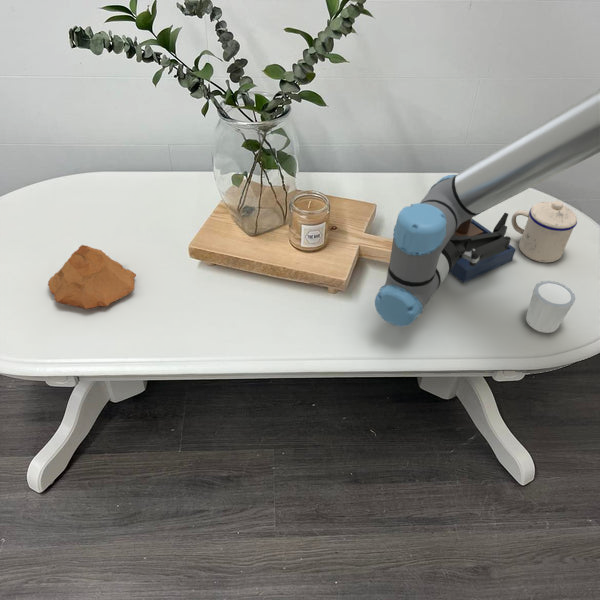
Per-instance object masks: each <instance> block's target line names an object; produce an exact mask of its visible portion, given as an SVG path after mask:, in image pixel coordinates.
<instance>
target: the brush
mask: <svg viewBox="0 0 600 600" xmlns="http://www.w3.org/2000/svg"><path fill="white" fill-rule="evenodd" d="M472 219H473V217H472V218H471V219H469V220H467V221H465V222H463V223H462V224H460V225H459V227H458V228H457V230H456V231H455V233H454V234H456V235H459V236H463V235H468V236H475V235H480V234H483V231H482V230H480V229H479V228H478V227H476V226H475V225H473V224H472V223H471V220H472ZM462 243H463V242H462Z"/></svg>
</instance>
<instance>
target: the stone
mask: <svg viewBox="0 0 600 600" xmlns="http://www.w3.org/2000/svg"><path fill="white" fill-rule="evenodd" d="M136 277H137V274H136V273H135V272H134V271H132V270H130V269H127V268H124V266H123V265H122V264H121V263H120V262H118V261H117V260H114V259H112V258H110V256H109V255H107V254H106V253H105V252H104V251H103V250H101V249H98V248H94V247H92V246H88V245H84V244H81V245H80V246H79V247H78V249H76V250H75V251H74V252H72V254H71V255H70V257H69V258H68V259H67V261H65V262H64V264H63V265H62V267H61V268H60V269H59V270H57V272H56V273H54V275H53V276H51V277H50V278H49V280H48V282H47V286H48V288H49V289H48V290H49V291H50V293H51V294H52V295H54V298H53V300H54V301H55V302H57V303H59V304H62V305H68V306H73V307H77V308H82V309H84V310H86V309H94V308H96V307H107V306H108V307H109V306H110V305H111V304H112V303H114V302H116V301H118V300H119V299H122V298H124V297H126V296H128V295H129V294H131V292H133V291H134V290H135V287H136V286H135V280H134V279H135V278H136Z"/></svg>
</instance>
